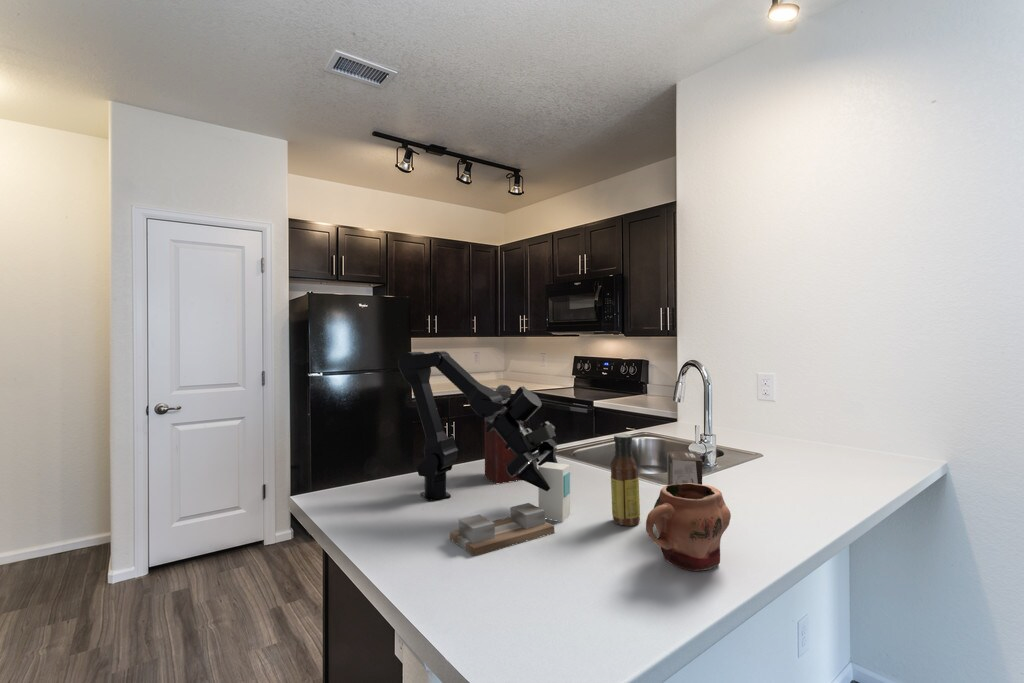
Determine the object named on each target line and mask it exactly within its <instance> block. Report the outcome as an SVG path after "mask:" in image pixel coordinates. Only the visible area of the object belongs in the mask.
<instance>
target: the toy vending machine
mask: <svg viewBox="0 0 1024 683" xmlns="http://www.w3.org/2000/svg"><path fill="white" fill-rule="evenodd" d="M495 391H496V392H497V393H499V394H500V395H501V396H502V397H503V398H508V399H510V398H511V397H512V389H511V387H510V385H506V384H499V385H498V386H497V387H496V389H495ZM506 410H507V409H504V410H502V411H501V412H500V413H498V414H503V413H504V412H505V411H506ZM498 414H496V415H493V416H490V417H484V477H485V476H486V477H487V478H486V477H485V478H486V479H488V478H489V479H490V481H491V480H492V481H493V483H494V482H495V483H500V484H504V483H503V482H507V483H510V482H509V481H514V482H517V481H516V480H521V479H519V478H517V479H516V478H515V477H516V476H517V475H518V474H519V473H518V474H517V475H515V476H513V477H510V475H509V474H508V473H507V472H506V465H507V464H508V463H509V462H510V461H511V460H512V459H513V458H514V457H515V456H516V455H515V453H514V452H513V451H512V450H511V449H508V450H507V449H506V448H505V446H506V445H507V444H506V443H505V441H504V440H503V439H502V438H501V436H500V435H499V434H498V433H497V432H496V430H493V431H491V432H488V433H487V432H486V426H487V423H486V422H487V421H490V420H493V419H494V418H495V417H496V416H497V415H498ZM518 422H519V423H520V424H521V425H522V426H523V427H524V421H518ZM489 479H488V480H489ZM492 481H491V482H492ZM521 481H522V480H521ZM495 483H494V484H495Z"/></svg>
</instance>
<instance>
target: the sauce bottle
mask: <svg viewBox="0 0 1024 683" xmlns="http://www.w3.org/2000/svg"><path fill="white" fill-rule="evenodd" d="M613 437H614V438H613V441H614V445H615V446H614V448H615V449H614V450H615V451H614V454H615V455H614V457H613V458H612V460H611V462H610V488H611V514H612V520H613V522H614V523H615V524H617V525H619V526H624V527H633V526H636V525H639V523H640V522H641V521H640V520H641V519H640V518H641V517H640V516H641V503H640V499H641V498H640V478H639V472H638V471H639V470H638V468H639V467H638V466H639V465H638V464H637V461H636V460H635V458H634V456H633V450H632V448H633V447H632V446H633V445H632V443H633V436H632V435H631V434H627V433H617V434H614V435H613Z"/></svg>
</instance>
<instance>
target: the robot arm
mask: <svg viewBox="0 0 1024 683" xmlns="http://www.w3.org/2000/svg"><path fill="white" fill-rule="evenodd" d="M397 365H398V369H399V370H400V373H401V376H402V378H403V379H404V380H405V381H406V382H407V383H408V385H410V387H411V389H412V394H413V397H414V401H415V403H416V408H417V411H418V414H419V417H420V421H421V424H422V428H423V431H424V436H425V443H424V447H423V448H424V449H423V453H424V458H425V459H423V461H422V462H420V464H419V465H418V466H417V468H416V471H417V473H418V476H419V477H423V478H424V480H423V481H424V491H422V492H419V495H420V496H422V497H423V499H425V500H426V501H428V502H430V501H436V500H442V499H448V498H451V497H452V495H451V494H450V493H449V492H448V491H447V472H449V471H452V468H453V466H454V465H455V463H456V461H457V459H458V452H459V449H458V448H457V445H456V439H455V437H454V436H450V437H449V436H448V435H447V434H446V432H445V431H444V427H443V424H442V421H441V417H440V414H439V410H438V407H437V404H436V401H435V396H434V394H433V389H432V386H431V383H430V378H431V373H432V368H436V369H438V371H439V372H440V373H441V374H442V375H444V377H445V378H446V379H448V380H449V381H450V382H451V383H452V384H453V385H454V387H456V388H457V389H458V390H459V391H460V392H461V393H462V394H464V396H465V397H466V399H467V401H468V405H469V406H470V408H471V409H472V410H473V411H474V412H475V414H476V415H477V416H478V417H480V418H485V417H490V416H493V415H496V414H498V413H500V412H501V411H502V410H504V409H507V410H506V411H505V412H504V413H503V414H498V415H497V416H496V417H495V418H494V419H493V420H490V421H487V422H486V423H487V426H486V432H487V433H488V432H491V431H493V430H496V432H497V433H498V434H499V435H500V436H501V438H502V439H503V440H504V441H505V443H506V444H507V445H506V446H505V448H506V449H507V450H508V449H511V450H512V451H513V452H514V453H515V455H516V456H515V457H514V458H513V459H512V460H511V461H510V462H509V463H508V464H507V465H506V472H507V473H508V474H509V475H510V477H513V476H515V475H517V474H518V473H519V474H518V475H517V476H516V477H515V478H516V479H517V478H519V479H521V481H524V482H526V483H527V484H531V485H533V486H534V487H537V488H538V489H539V488H541V489H543V490H545V491H548V490H549V489H550V487H549V485H548V483H547V482H546V480H545V479H544V477H543V476H542V474H541V473H540V471H539V470H538V467H539V466H541V465H542V464H544V463H546V462H551V463H559V462H558V460H557V457H556V454H557V450H558V448H557V447H558V443H557V442H556V441H555V440H554V439H553V438H554V437H556V436H557V434H556V432H555V430H556V427H555V425H554V424H553V423H550V422H549V420H547V421H544V422H542V423H540V424H539V428H538V429H537V428H536V429H535V430H533V431H532V429H531V428H529V427H526V428H525V427H524V425H523V426H522V425H521V424H520V423H519V422H518V421H523V422H527V421H528V420H529V419H530V417H532V416H533V415H534V414H535V413H536V412H537V411H538V410H539V409H540V408H541V407H542V404H543V403H542V401H541V399H540V397H539V396H538V395H537V394H536V393H534V392H532V391H531V390H529V389H527V388H526V387H525V386H519V387H518V388H517V389H516V391H515V392H514V394H513V395H511V396H510V397H509V398H510V399H508V398H503V397H502V396H501V395H500V394H499V393H497V392H496V390H494V389H492V388H491V387H488V386H486V385H484V384H482V383H480V382H479V381H478V380H477V379H475V378H474V377H473V376H472V375H471V374H470V373H469V372H468V371H467V370H466V369H464V367H462V365H460V364H459V363H458V362H457V361H456V360H455V359H454V358H453V357H452V356H451V355H450V353H448V352H447V351H444V350H442V351H441V350H438V351H433V352H429V353H425V352H423V351H406V352H404V353H402V354H401V355H400V356H399V359H398V361H397Z"/></svg>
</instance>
